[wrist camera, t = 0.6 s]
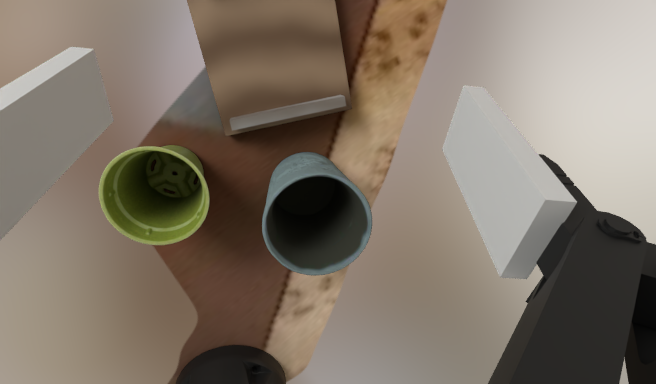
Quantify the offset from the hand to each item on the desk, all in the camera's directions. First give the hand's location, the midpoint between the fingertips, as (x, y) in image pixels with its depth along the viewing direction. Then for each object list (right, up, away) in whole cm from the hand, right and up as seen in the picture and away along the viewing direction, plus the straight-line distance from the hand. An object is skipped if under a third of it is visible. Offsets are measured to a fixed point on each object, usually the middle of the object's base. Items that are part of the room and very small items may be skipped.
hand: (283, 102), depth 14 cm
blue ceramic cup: (-1, -3, +32) cm, 32 cm away
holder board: (-4, +12, +26) cm, 28 cm away
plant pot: (-15, -1, +28) cm, 32 cm away
